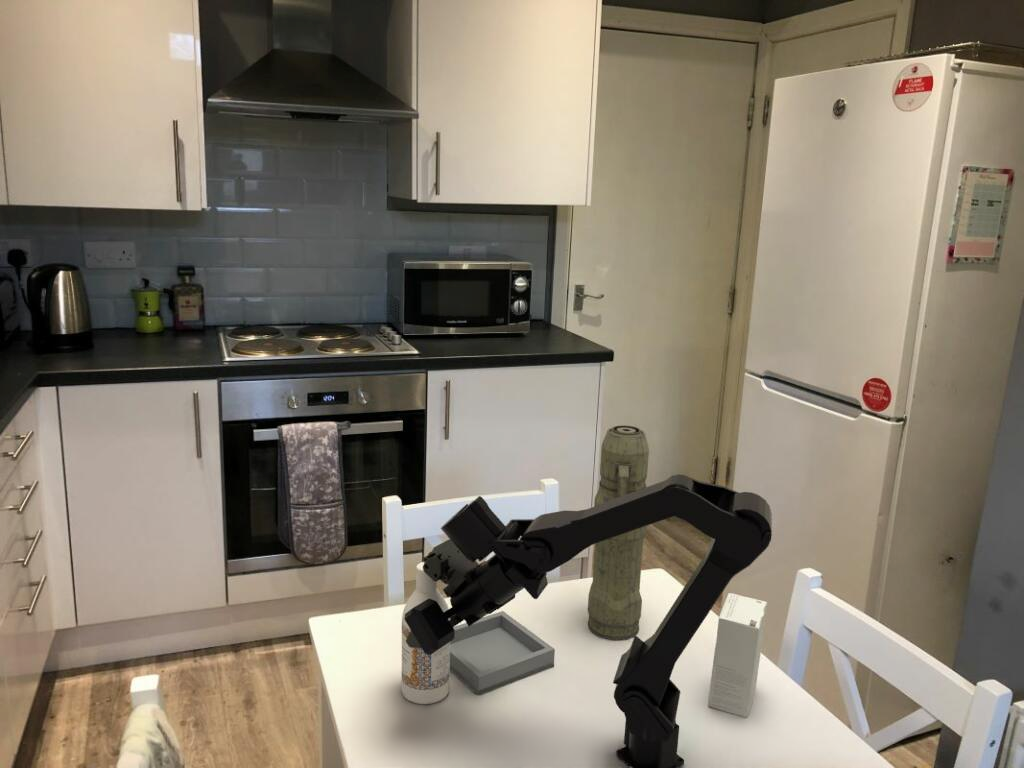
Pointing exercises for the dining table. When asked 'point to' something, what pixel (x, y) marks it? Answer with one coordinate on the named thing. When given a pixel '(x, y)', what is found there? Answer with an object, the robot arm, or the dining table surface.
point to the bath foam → (419, 670)
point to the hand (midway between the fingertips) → (429, 629)
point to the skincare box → (737, 654)
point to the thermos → (619, 539)
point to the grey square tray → (497, 653)
